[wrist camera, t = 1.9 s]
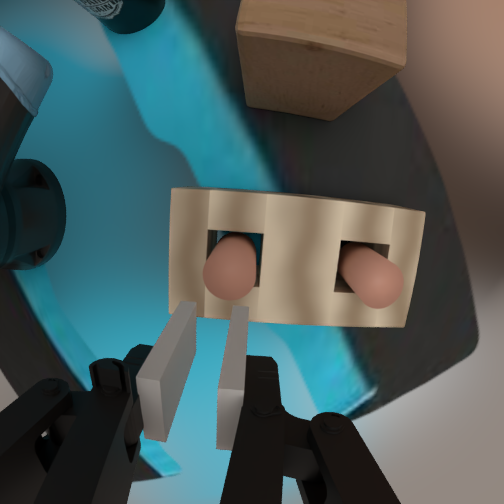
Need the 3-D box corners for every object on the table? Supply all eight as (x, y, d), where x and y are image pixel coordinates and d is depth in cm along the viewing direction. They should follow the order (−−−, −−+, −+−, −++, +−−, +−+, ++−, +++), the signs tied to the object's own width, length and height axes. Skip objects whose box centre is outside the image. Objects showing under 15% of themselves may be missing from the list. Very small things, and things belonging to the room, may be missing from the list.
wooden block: (333, 122, 34) (409, 69, 15) (245, 107, 34) (233, 30, 14) (341, 47, 32) (405, -45, 12) (258, 32, 32) (259, -78, 12)
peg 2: (332, 278, 33) (354, 308, 25) (338, 240, 32) (362, 259, 24) (368, 280, 33) (398, 309, 25) (374, 243, 32) (407, 262, 24)
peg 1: (214, 270, 33) (201, 298, 25) (216, 230, 32) (203, 247, 24) (254, 273, 33) (253, 302, 25) (257, 233, 32) (258, 251, 24)
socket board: (185, 287, 38) (168, 313, 31) (189, 186, 36) (171, 188, 28) (379, 300, 39) (404, 327, 31) (393, 205, 36) (425, 212, 28)
